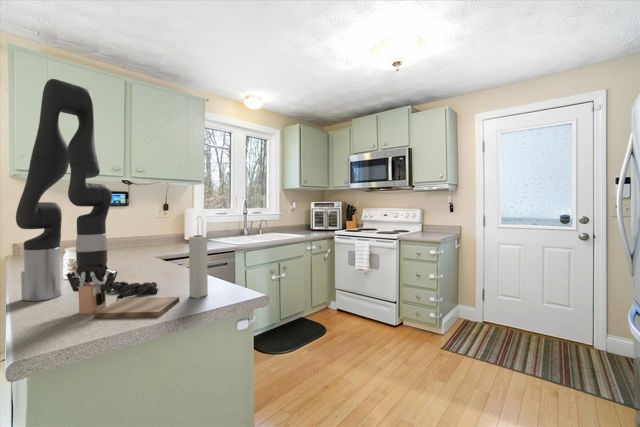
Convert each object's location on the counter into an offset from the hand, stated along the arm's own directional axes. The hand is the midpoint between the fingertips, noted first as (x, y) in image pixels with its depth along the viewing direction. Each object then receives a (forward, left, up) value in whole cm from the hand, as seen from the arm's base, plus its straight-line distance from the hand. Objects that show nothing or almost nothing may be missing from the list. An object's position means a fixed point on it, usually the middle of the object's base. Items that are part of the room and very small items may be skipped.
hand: (93, 304), depth 91 cm
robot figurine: (+2, +19, -2) cm, 19 cm away
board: (+14, 0, -2) cm, 14 cm away
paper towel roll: (+27, +13, -2) cm, 30 cm away
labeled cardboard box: (0, 0, -2) cm, 2 cm away
